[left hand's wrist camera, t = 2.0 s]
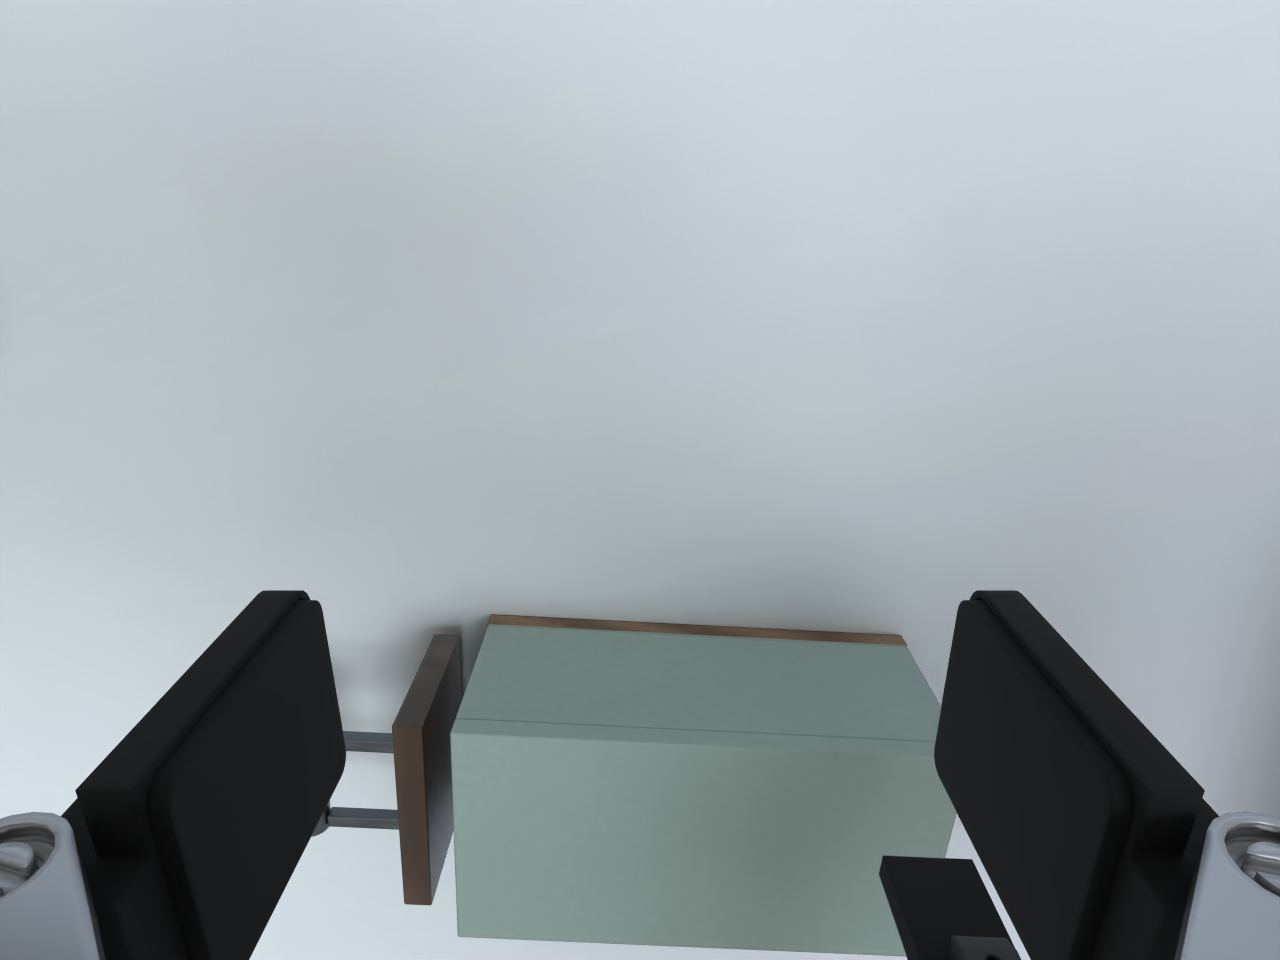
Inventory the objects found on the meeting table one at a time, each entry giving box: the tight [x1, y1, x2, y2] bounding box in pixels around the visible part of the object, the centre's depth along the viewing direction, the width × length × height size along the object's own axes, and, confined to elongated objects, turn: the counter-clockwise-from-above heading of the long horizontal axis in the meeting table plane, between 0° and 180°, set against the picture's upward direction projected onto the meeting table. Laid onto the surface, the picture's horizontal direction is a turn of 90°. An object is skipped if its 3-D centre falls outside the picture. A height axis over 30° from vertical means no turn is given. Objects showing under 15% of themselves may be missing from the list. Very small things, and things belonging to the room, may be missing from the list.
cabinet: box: [450, 615, 957, 956], centre depth 35 cm, size 20×11×8 cm, turn 87°
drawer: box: [311, 635, 461, 905], centre depth 35 cm, size 24×9×7 cm, turn 87°
